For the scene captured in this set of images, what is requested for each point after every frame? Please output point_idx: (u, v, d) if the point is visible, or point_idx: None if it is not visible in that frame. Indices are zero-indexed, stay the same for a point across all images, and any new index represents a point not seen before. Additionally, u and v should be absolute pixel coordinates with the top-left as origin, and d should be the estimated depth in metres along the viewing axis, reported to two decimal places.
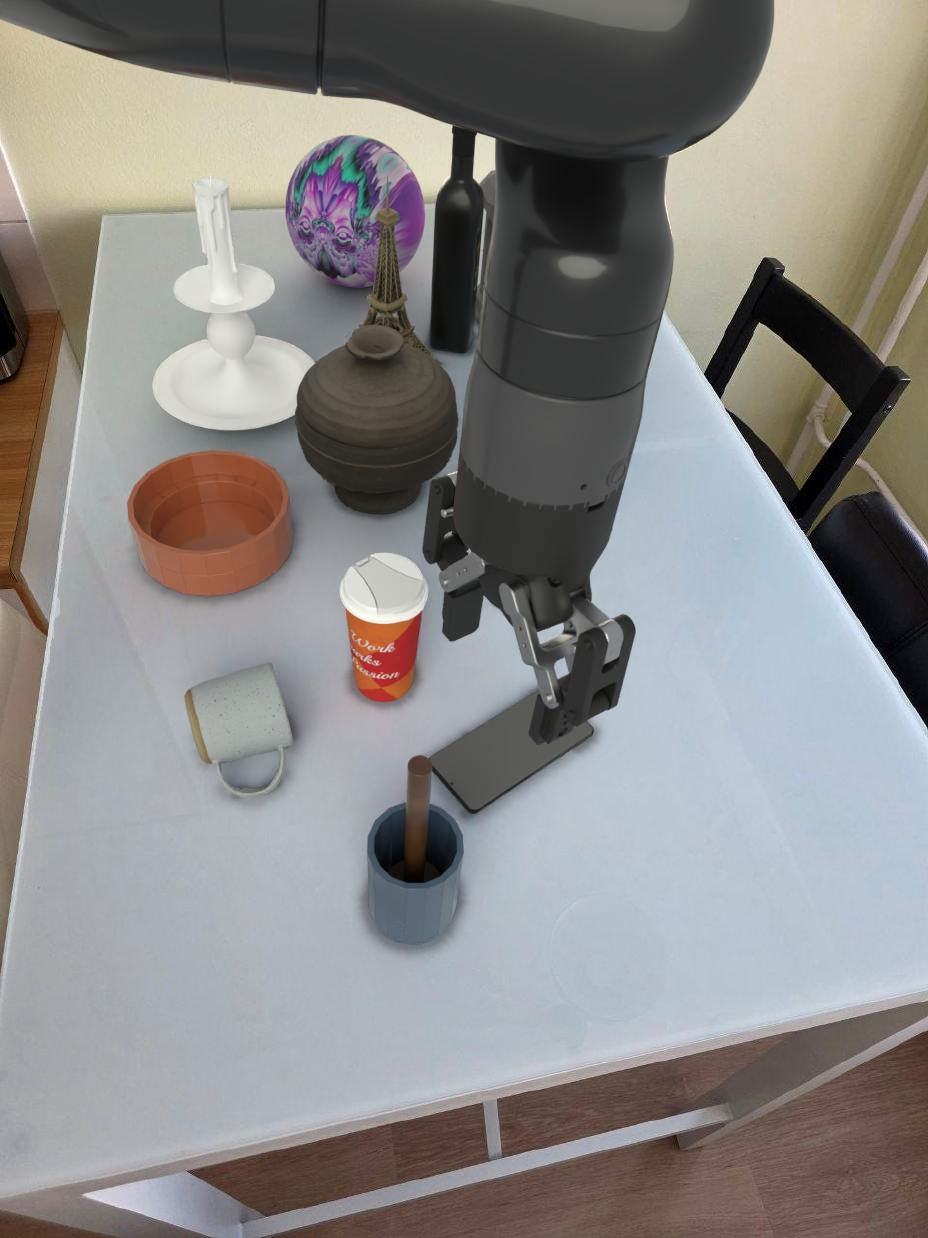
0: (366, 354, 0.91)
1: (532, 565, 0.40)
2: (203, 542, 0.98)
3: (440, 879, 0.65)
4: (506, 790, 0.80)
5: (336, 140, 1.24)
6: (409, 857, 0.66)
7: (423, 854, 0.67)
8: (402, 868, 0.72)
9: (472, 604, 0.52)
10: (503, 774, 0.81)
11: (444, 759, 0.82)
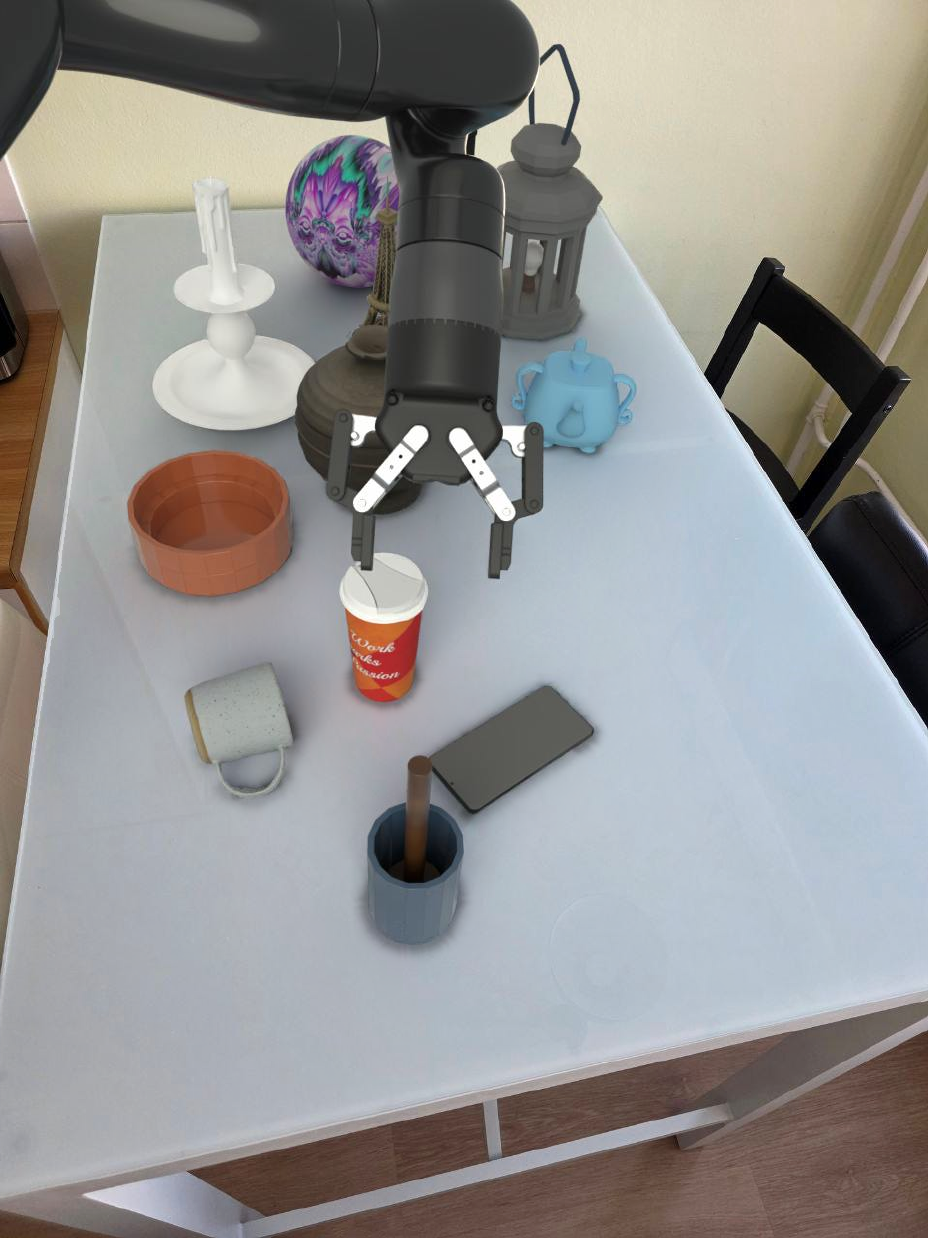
0: (366, 354, 0.91)
1: (488, 383, 0.58)
2: (203, 542, 0.98)
3: (440, 879, 0.65)
4: (506, 790, 0.80)
5: (336, 140, 1.24)
6: (409, 857, 0.66)
7: (423, 854, 0.67)
8: (402, 868, 0.72)
9: (374, 532, 0.61)
10: (503, 774, 0.81)
11: (444, 759, 0.82)
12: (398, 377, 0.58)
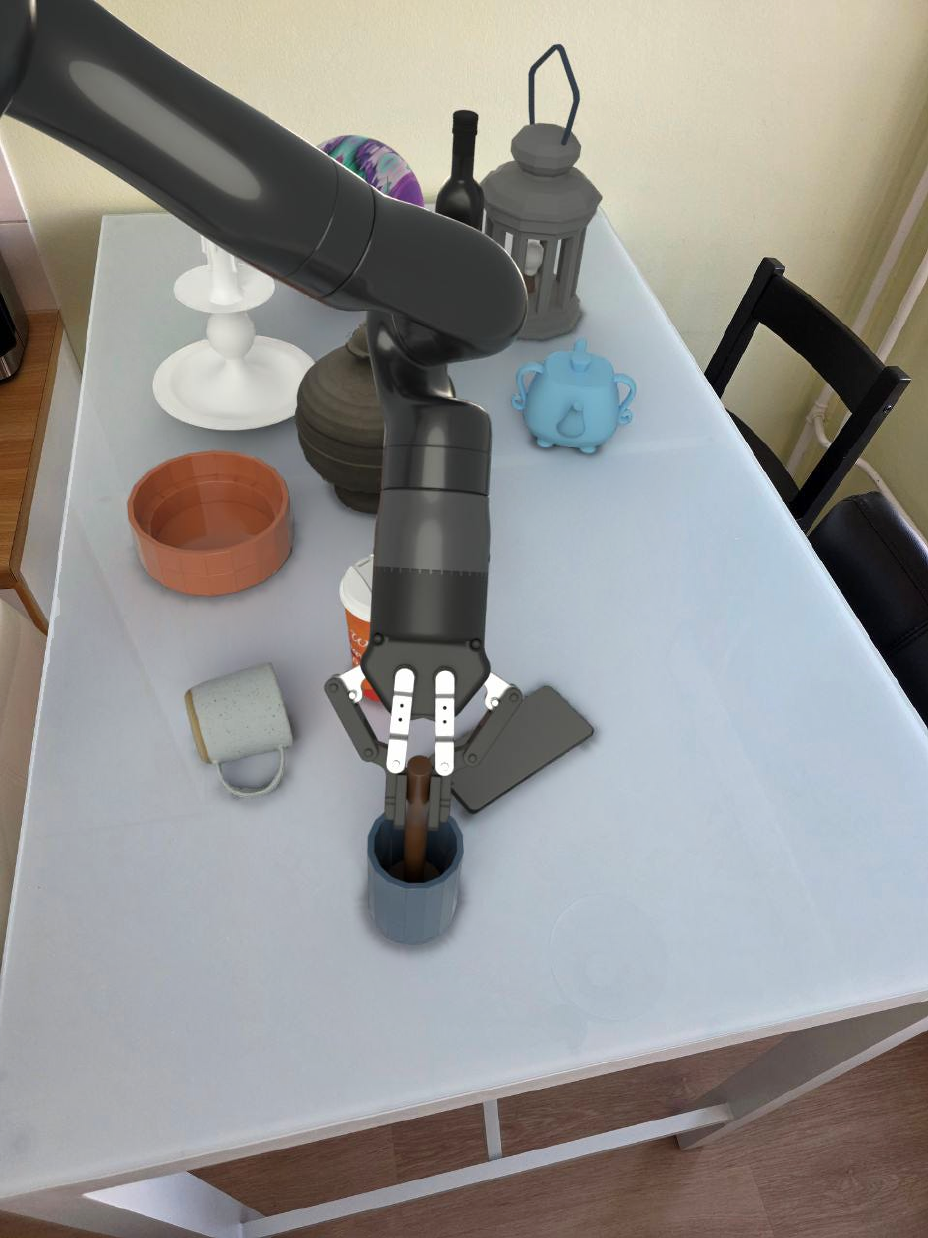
0: (366, 354, 0.91)
1: (475, 627, 0.57)
2: (203, 542, 0.98)
3: (440, 879, 0.65)
4: (506, 790, 0.80)
5: (336, 140, 1.24)
6: (409, 857, 0.66)
7: (423, 854, 0.67)
8: (402, 868, 0.72)
9: None
10: (503, 774, 0.81)
11: None
12: (383, 623, 0.57)
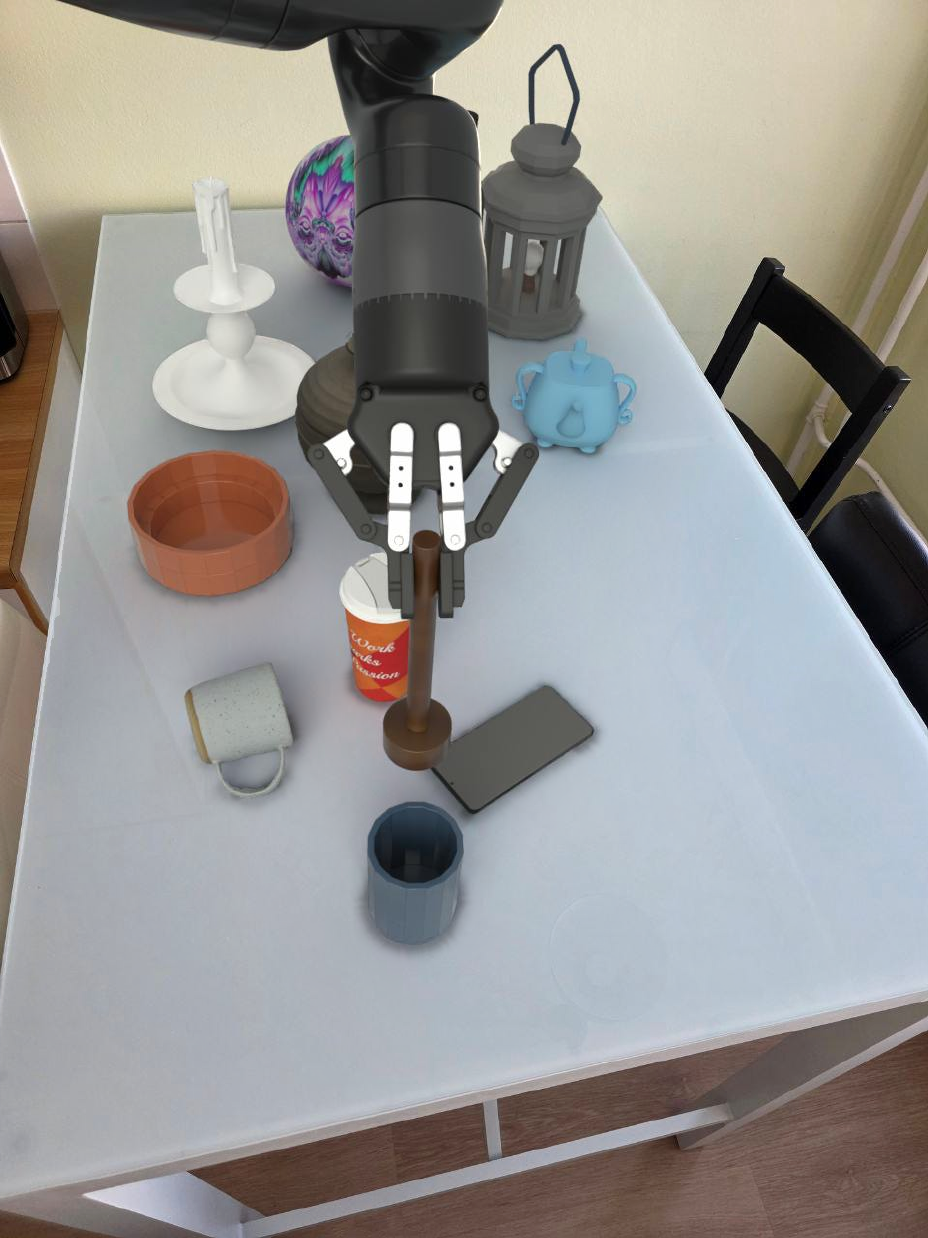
0: None
1: (479, 367, 0.49)
2: (203, 542, 0.98)
3: (440, 879, 0.65)
4: (506, 790, 0.80)
5: (336, 140, 1.24)
6: (415, 676, 0.58)
7: (430, 672, 0.58)
8: (403, 706, 0.64)
9: None
10: (503, 774, 0.81)
11: (444, 759, 0.82)
12: (373, 367, 0.48)
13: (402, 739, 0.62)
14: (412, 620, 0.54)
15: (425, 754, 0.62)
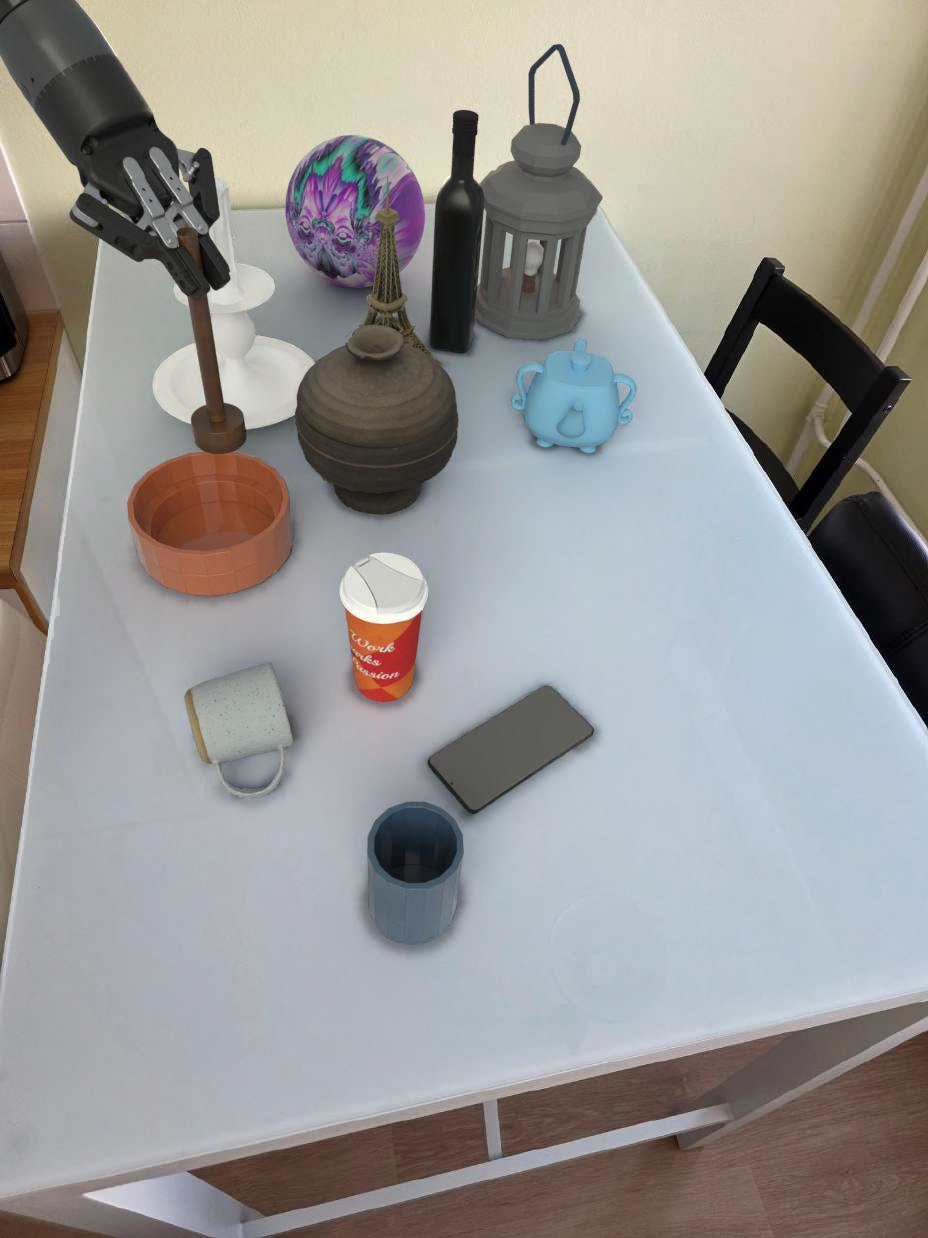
0: (366, 354, 0.91)
1: None
2: (203, 542, 0.98)
3: (440, 879, 0.65)
4: (506, 790, 0.80)
5: (336, 140, 1.24)
6: (210, 364, 0.79)
7: (216, 357, 0.80)
8: (198, 415, 0.84)
9: None
10: (503, 774, 0.81)
11: (444, 759, 0.82)
12: (88, 122, 0.66)
13: (218, 428, 0.83)
14: (196, 309, 0.75)
15: (239, 428, 0.84)
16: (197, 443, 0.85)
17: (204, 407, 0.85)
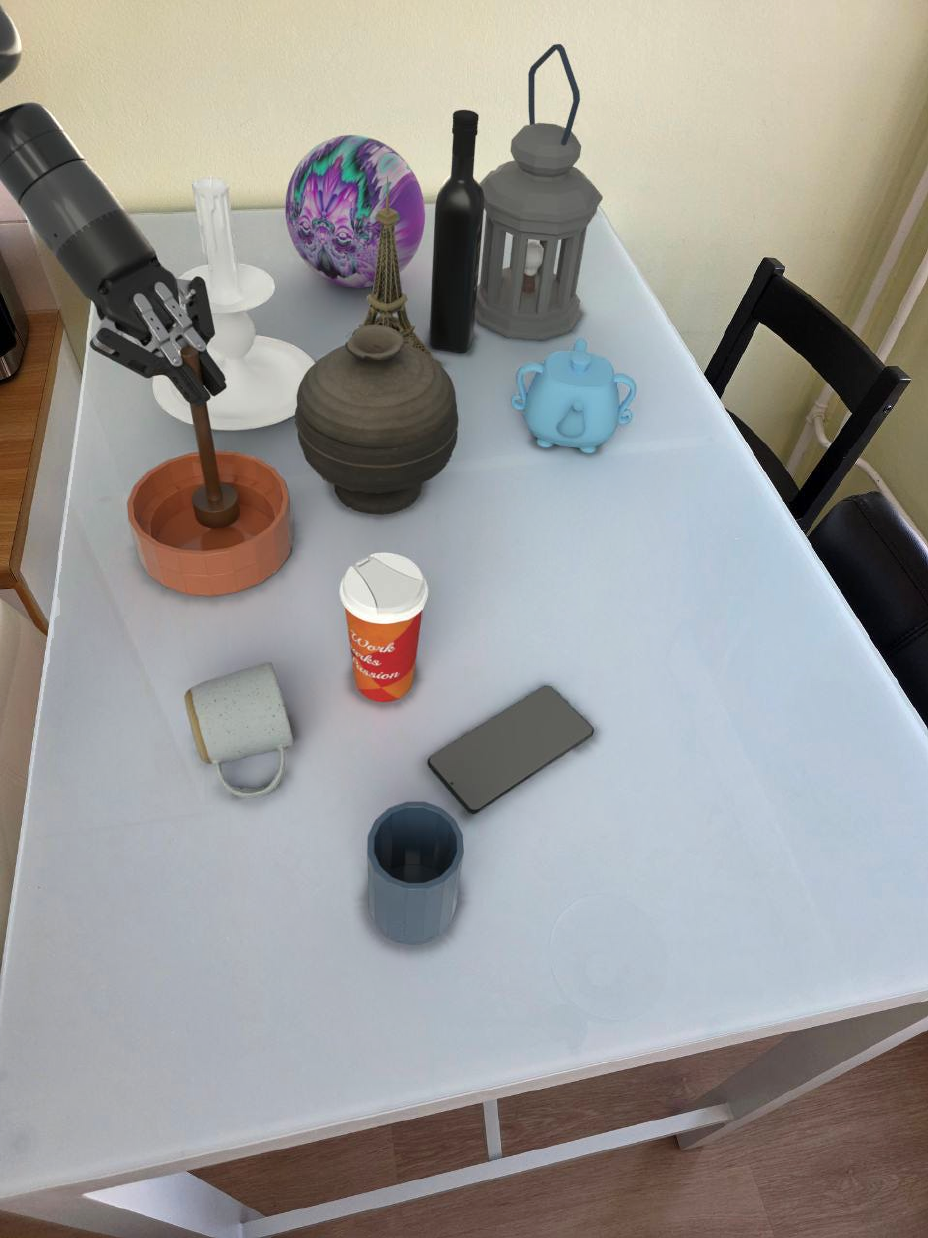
0: (366, 354, 0.91)
1: None
2: (203, 542, 0.98)
3: (440, 879, 0.65)
4: (506, 790, 0.80)
5: (336, 140, 1.24)
6: (209, 454, 0.92)
7: None
8: (198, 495, 0.97)
9: None
10: (503, 774, 0.81)
11: (444, 759, 0.82)
12: (104, 268, 0.79)
13: (216, 507, 0.96)
14: (197, 412, 0.88)
15: (234, 505, 0.97)
16: (198, 519, 0.97)
17: (202, 487, 0.98)
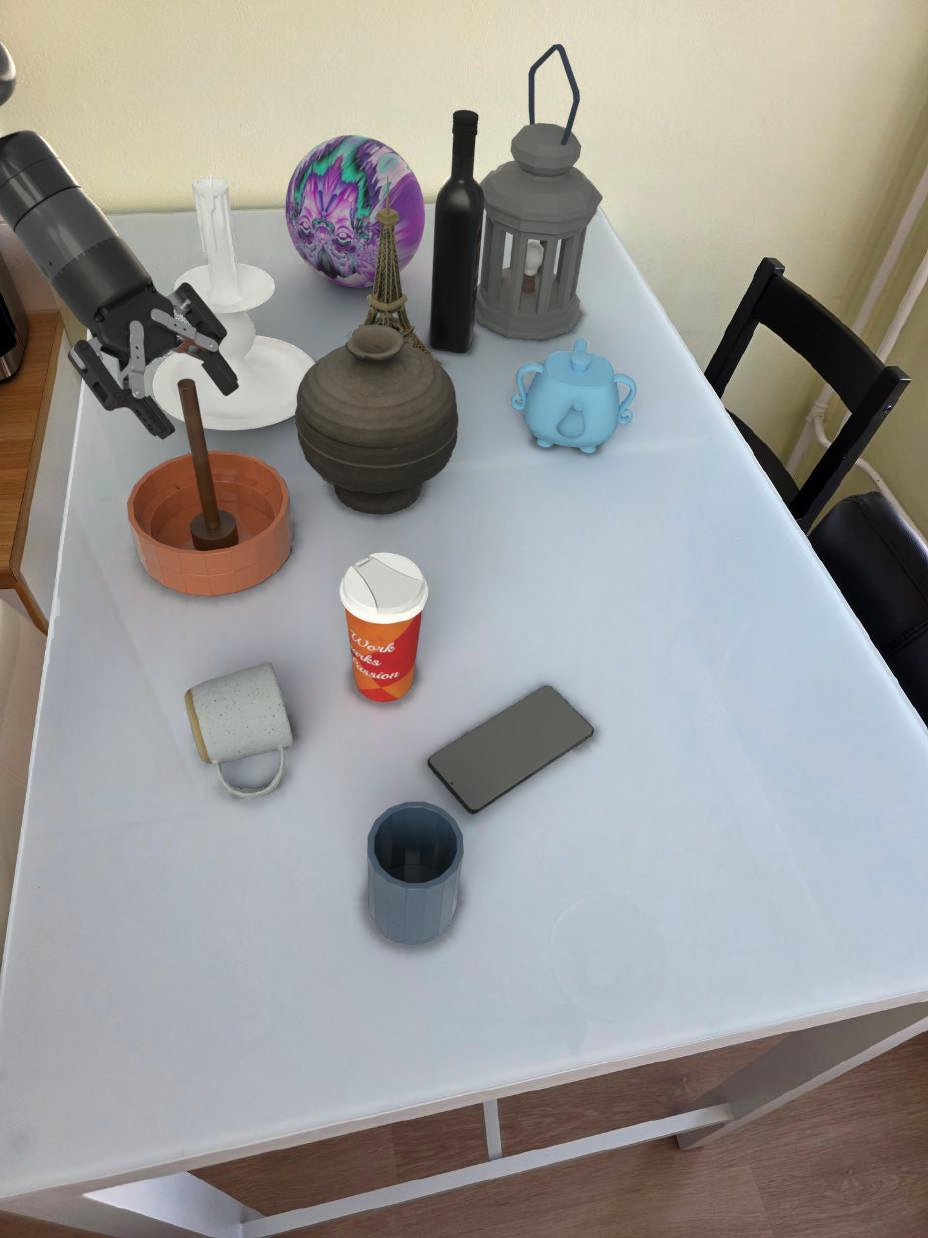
0: (366, 354, 0.91)
1: None
2: None
3: (440, 879, 0.65)
4: (506, 790, 0.80)
5: (336, 140, 1.24)
6: (207, 483, 0.92)
7: None
8: (196, 523, 0.97)
9: None
10: (503, 774, 0.81)
11: (444, 759, 0.82)
12: (100, 296, 0.78)
13: (215, 535, 0.96)
14: (195, 443, 0.88)
15: (232, 532, 0.97)
16: (196, 547, 0.97)
17: (200, 515, 0.98)
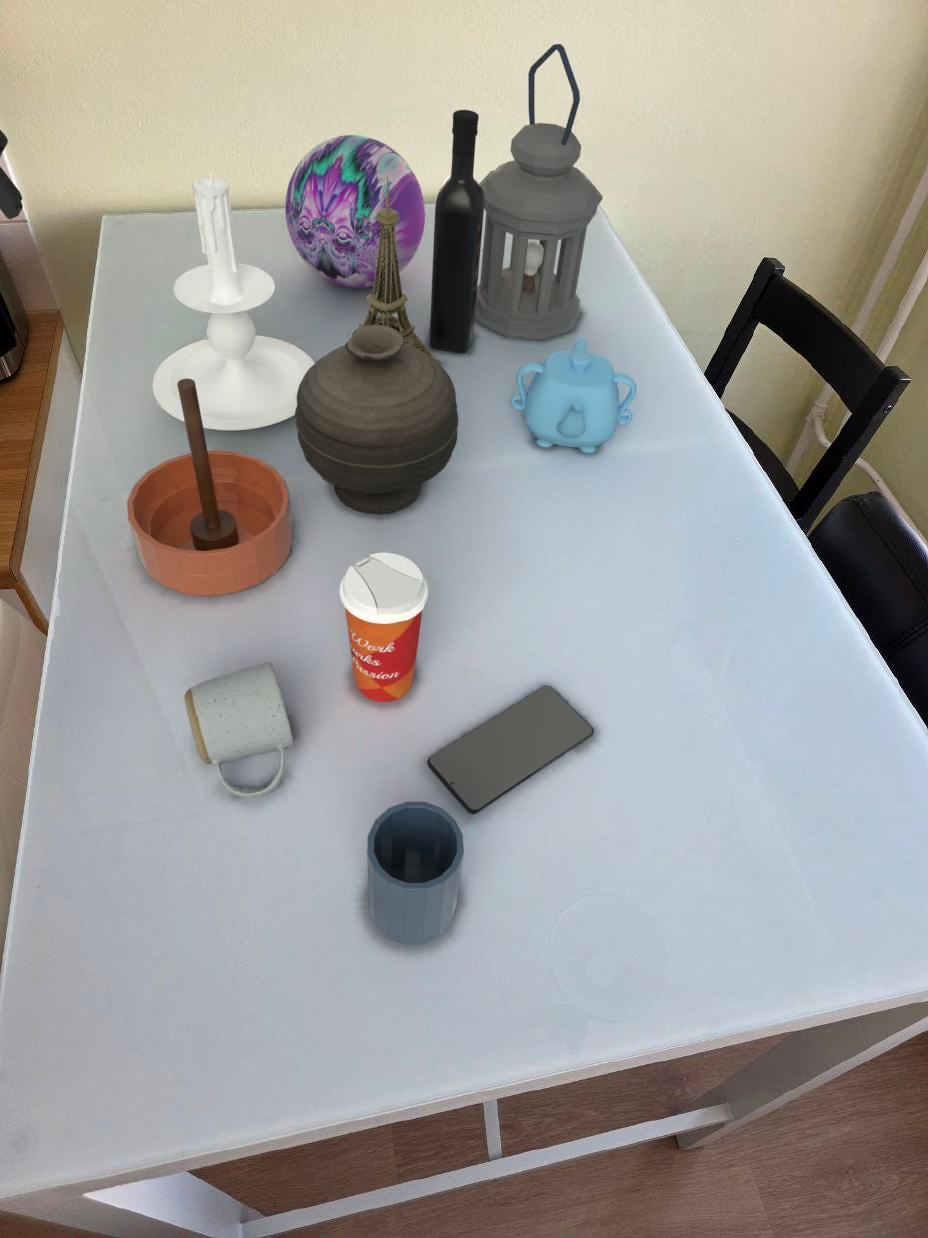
0: (366, 354, 0.91)
1: None
2: None
3: (440, 879, 0.65)
4: (506, 790, 0.80)
5: (336, 140, 1.24)
6: (207, 483, 0.92)
7: None
8: (196, 523, 0.97)
9: None
10: (503, 774, 0.81)
11: (444, 759, 0.82)
12: None
13: (215, 535, 0.96)
14: (195, 443, 0.88)
15: (232, 532, 0.97)
16: (196, 547, 0.97)
17: (200, 515, 0.98)
